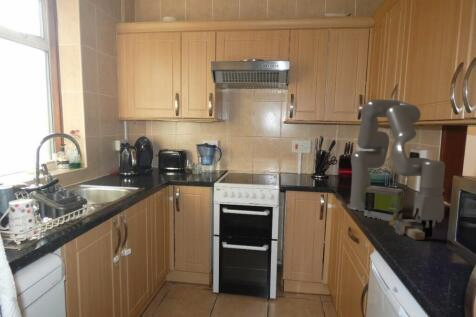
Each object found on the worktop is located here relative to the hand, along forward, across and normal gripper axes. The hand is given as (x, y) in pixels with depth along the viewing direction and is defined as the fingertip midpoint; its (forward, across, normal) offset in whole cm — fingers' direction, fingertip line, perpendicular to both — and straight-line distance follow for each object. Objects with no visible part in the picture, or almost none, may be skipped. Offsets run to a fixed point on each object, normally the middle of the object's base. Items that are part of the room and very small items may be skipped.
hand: (427, 236), depth 116 cm
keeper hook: (+1, +5, -6) cm, 8 cm away
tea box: (+1, +2, -27) cm, 27 cm away
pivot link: (+1, +4, -8) cm, 9 cm away
